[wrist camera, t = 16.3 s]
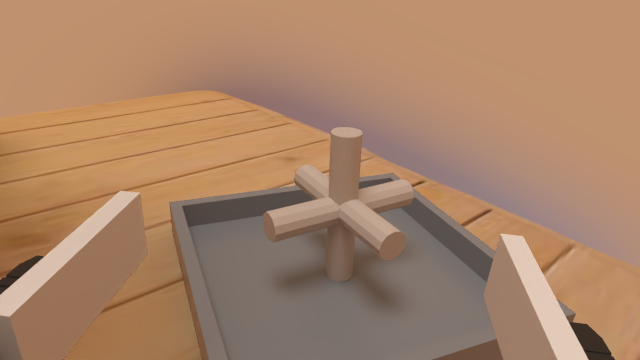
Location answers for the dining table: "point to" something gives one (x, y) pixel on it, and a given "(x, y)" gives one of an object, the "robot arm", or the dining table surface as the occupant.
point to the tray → (332, 285)
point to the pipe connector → (343, 208)
